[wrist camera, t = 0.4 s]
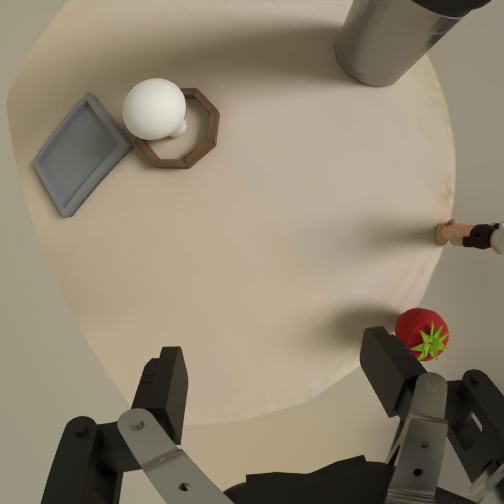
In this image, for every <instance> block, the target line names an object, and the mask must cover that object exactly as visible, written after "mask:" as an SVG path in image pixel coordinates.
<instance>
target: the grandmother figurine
mask: <svg viewBox="0 0 504 504" xmlns="http://www.w3.org/2000/svg"><path fill="white" fill-rule="evenodd" d="M448 240H449V241H450V243H451V244H452V245H453V246H464V247H475V248H479V249H486V248H490V247H492V249H493V250H494V251H495V252H496V253H498V254H503V255H504V222H501V223H500V224H499V223H494V222H493V223H491V225H488V224H483V225H482V224H481V225H465V224H461V223H458V221H457V220H456V219H452V220H450V222H449V226H445V225H444V224H439V225H438V226H437V231H436V243H437V244H438V245H445V244H446V243H447V241H448Z"/></svg>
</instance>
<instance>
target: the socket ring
mask: <svg viewBox="0 0 504 504" xmlns="http://www.w3.org/2000/svg"><path fill="white" fill-rule="evenodd" d="M180 90H181V91H182V93H183V95H184V98H185V99H197V100H198V101H199V102H200V103H201V104H202V105H203V106H204V107H205V108H206V110H207V111H208V112H209V113H210V119H209V127H208V135H207V140H206V141H205V142H204V143H203V144H202V145H201V146H199V147H198V148H197V149H196V150H195V151H194V152H192V153H191V154H190V155H189V156H188V157H187V158H186V159H185V160H171V159H159V157H158V156H157V155H156V154H155V153H154V151H153V150H152V149H151V148H150V146H149V145H148V144H147V143H146V142H147V140H145V139H141V138H139V137H137V136H136V141H135V142H136V145H137V146H138V147H139V148H140V150H141V151H142V152H143V154H144V155H145V156H146V157H147V159H148V160H149V161H150V162H151V164H152V165H153V166H155V167H158V168H188V169H189V168H191V167H192V166H193V165H195V164H196V163H197V162H198V161H199V160H200V159H201V158H203V157H204V156H205V155H206V154H207V153H208V152H210V151H211V150H212V149H213V148H214V147H215V145H216V143H217V134H218V126H219V117H220V114H219V112H218V110H217V109H216V108H215V107H214V105H213V104H212V103H211V102H210V101H209V100H208V99H207V98H206V97H205V96H204V95H203V94H202V93H201V92H200V91H199V90H198V89H196V88H185V89H180Z"/></svg>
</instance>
